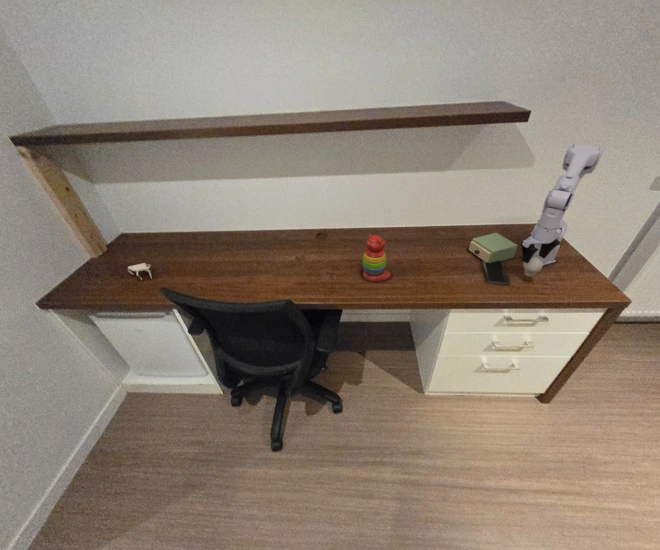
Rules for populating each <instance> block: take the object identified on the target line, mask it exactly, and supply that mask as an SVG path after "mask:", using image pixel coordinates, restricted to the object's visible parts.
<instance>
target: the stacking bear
mask: <svg viewBox="0 0 660 550" xmlns="http://www.w3.org/2000/svg"><path fill="white" fill-rule="evenodd" d="M385 247H386V241H385V239H383V237H381V236H380V235H377V234H372V233H370V234H369V235H368V238H367V240H366V249H365V250H364V253H363V256H362V261H361V264H362V268H363V271H362V277H363V278H364V280H367V281H370V282H382V281H386V280H388V279H391V276H392V274H391V272H390V271H388V270H386V266H387V255H386V252H385V249H384V248H385Z"/></svg>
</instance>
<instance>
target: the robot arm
mask: <svg viewBox="0 0 660 550" xmlns="http://www.w3.org/2000/svg"><path fill="white" fill-rule="evenodd" d="M604 151H605V147H604V146H603V145H601V146H596V145H587V144H578V143H577V144H575V143H570V144H569V146H568V147H567V150H566V152H565V154H564V157H563V160H562V165H561V166H562V169H563V171H565V173H563V174H561V175H560V176H559V177H558V179H557V181H556V183H555V184H554V187H552V190H551V189H550V190H549V191H548V193H547V195H546V196H545V200H544V202H543V207H542V210H541V215H540V217H539V219H538V220H537V222H536V224H535V225H534V226H533V227H534V228H533V230H532V232H531V233H530V236H529V237H527V238H526V239H524V240H523V241H521V243H520V247H521V251H522V255H521V258H522V259H521V261H522V262H523V263H524V262H525V263H529V261H530V260H531V258H532V257H537V258H539V259H540V260H541V261H542V263H543V266H546V265H550V264H553V263H556V260H555V258H556V257H557V254H558V252H559V250H560V244H561V243H562V240H563V238H564V236H565V234H566V232H567V228H568V224H567V223H566V221H565V220H564V218H563V217H564V215H565V213H566V211H567V210H568V209H569V207H570V205H571V204H572V202H573V199H574V195H575V192H576V190H577V188H578V186H579V184H580V182H581V180H582V179H583V178H584V176H585V175H587V174H592V173H593V171H595V169H596V167H597V165H598V164H599V162H600V160H601V158H602V156H603V154H604Z"/></svg>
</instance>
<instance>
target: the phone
mask: <svg viewBox="0 0 660 550" xmlns="http://www.w3.org/2000/svg"><path fill="white" fill-rule="evenodd" d="M481 265H482V270H483V274H484V278H485V282H486V283H487V284H493V285H494V284H496V285H506V286H508V285H509V283H510V279H509V278H508V274H507V272H506V271H507V270H506V268H505V265H504V262H503V261H495V262H492V263H488V262H485V261H483V260H482V259H481Z"/></svg>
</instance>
